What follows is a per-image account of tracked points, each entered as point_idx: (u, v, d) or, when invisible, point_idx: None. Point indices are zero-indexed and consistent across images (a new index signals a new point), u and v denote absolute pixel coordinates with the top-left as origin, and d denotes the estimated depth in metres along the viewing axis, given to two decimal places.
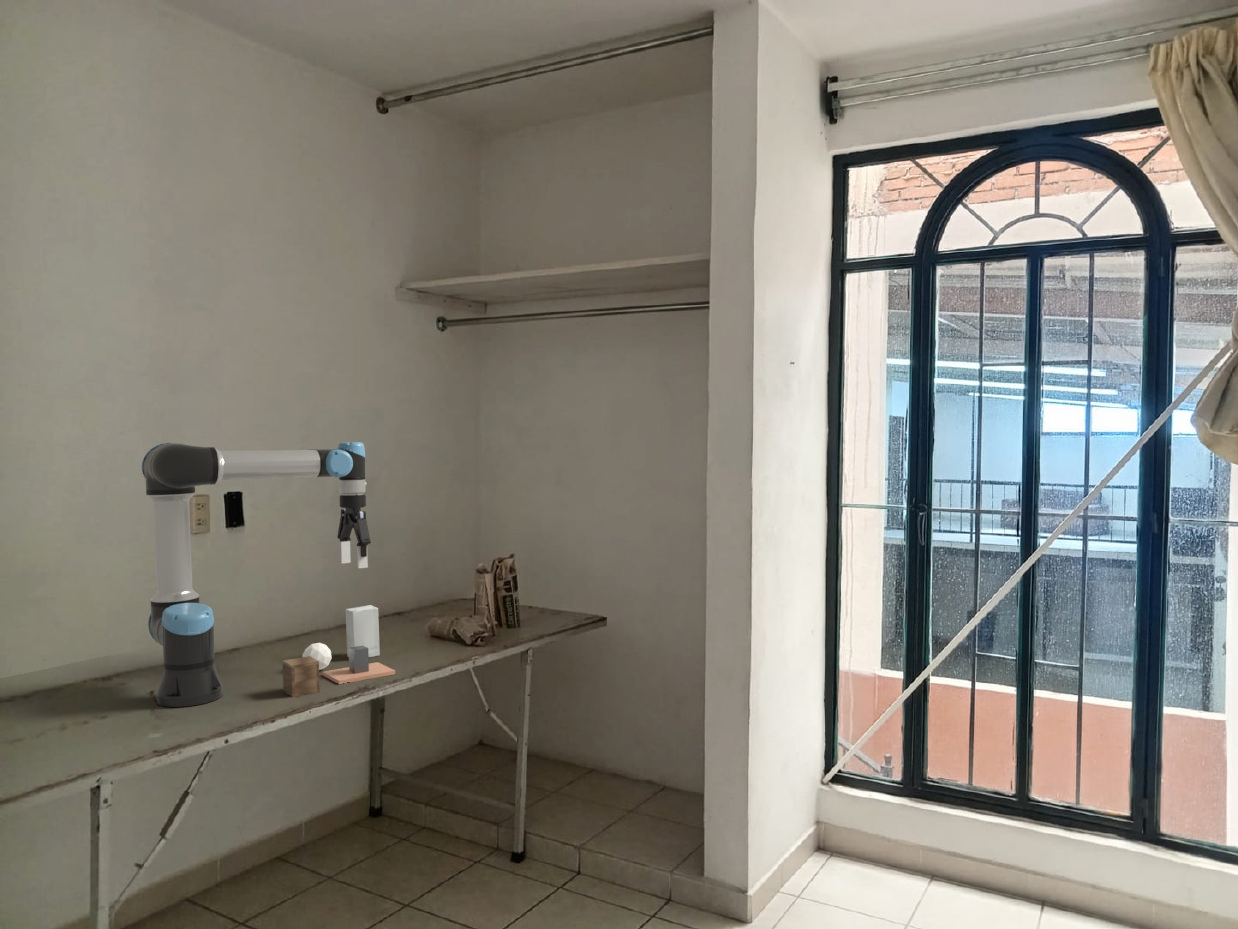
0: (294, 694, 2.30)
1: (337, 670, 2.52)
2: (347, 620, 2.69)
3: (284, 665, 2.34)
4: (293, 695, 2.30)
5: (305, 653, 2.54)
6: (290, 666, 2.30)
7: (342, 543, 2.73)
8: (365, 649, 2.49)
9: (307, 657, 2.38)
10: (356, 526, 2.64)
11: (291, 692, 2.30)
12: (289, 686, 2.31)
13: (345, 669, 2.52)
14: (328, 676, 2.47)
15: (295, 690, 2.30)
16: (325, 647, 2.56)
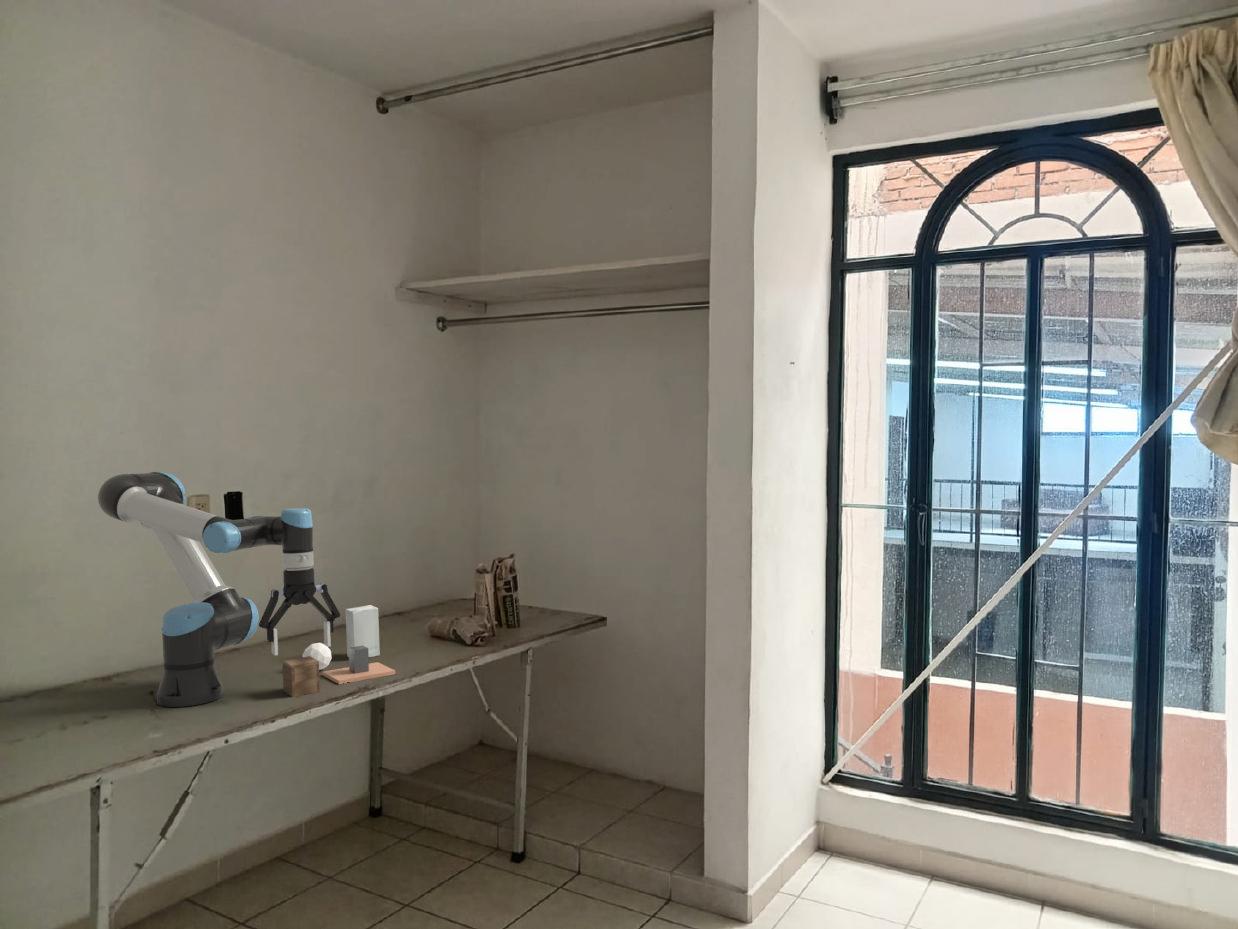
0: (294, 694, 2.30)
1: (337, 670, 2.52)
2: (347, 620, 2.69)
3: (284, 665, 2.34)
4: (293, 695, 2.30)
5: (305, 653, 2.54)
6: (290, 666, 2.30)
7: (323, 622, 2.39)
8: (365, 649, 2.49)
9: (307, 657, 2.38)
10: (281, 605, 2.32)
11: (291, 692, 2.30)
12: (289, 686, 2.31)
13: (345, 669, 2.52)
14: (328, 676, 2.47)
15: (295, 690, 2.30)
16: (325, 647, 2.56)
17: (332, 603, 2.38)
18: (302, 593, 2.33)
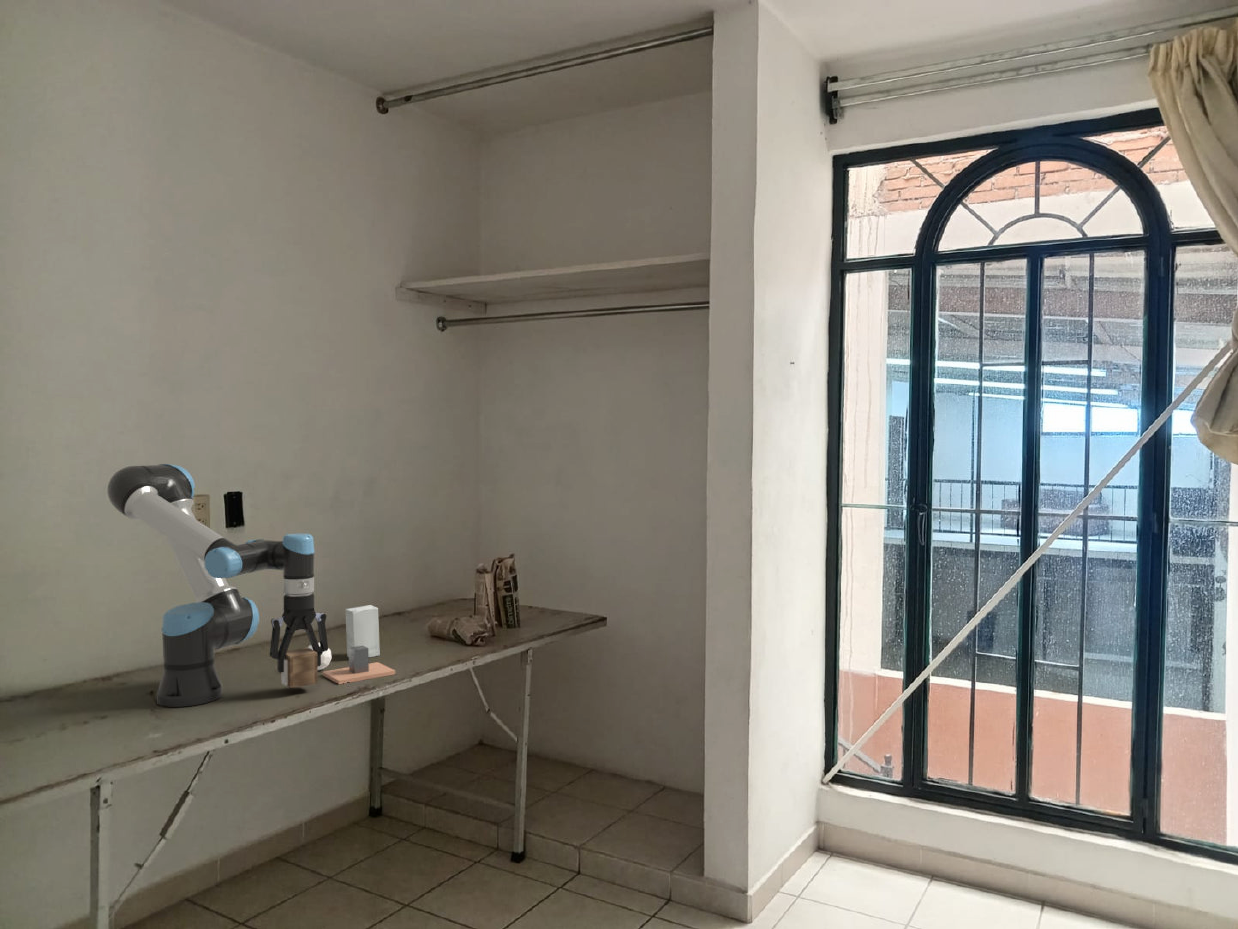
0: (292, 685, 2.30)
1: (337, 670, 2.52)
2: (347, 620, 2.69)
3: None
4: (291, 686, 2.30)
5: None
6: (288, 657, 2.30)
7: None
8: (365, 649, 2.49)
9: (306, 648, 2.38)
10: (285, 633, 2.33)
11: (289, 683, 2.30)
12: None
13: (345, 669, 2.52)
14: (328, 676, 2.47)
15: (294, 681, 2.31)
16: None
17: (325, 635, 2.37)
18: (302, 617, 2.33)
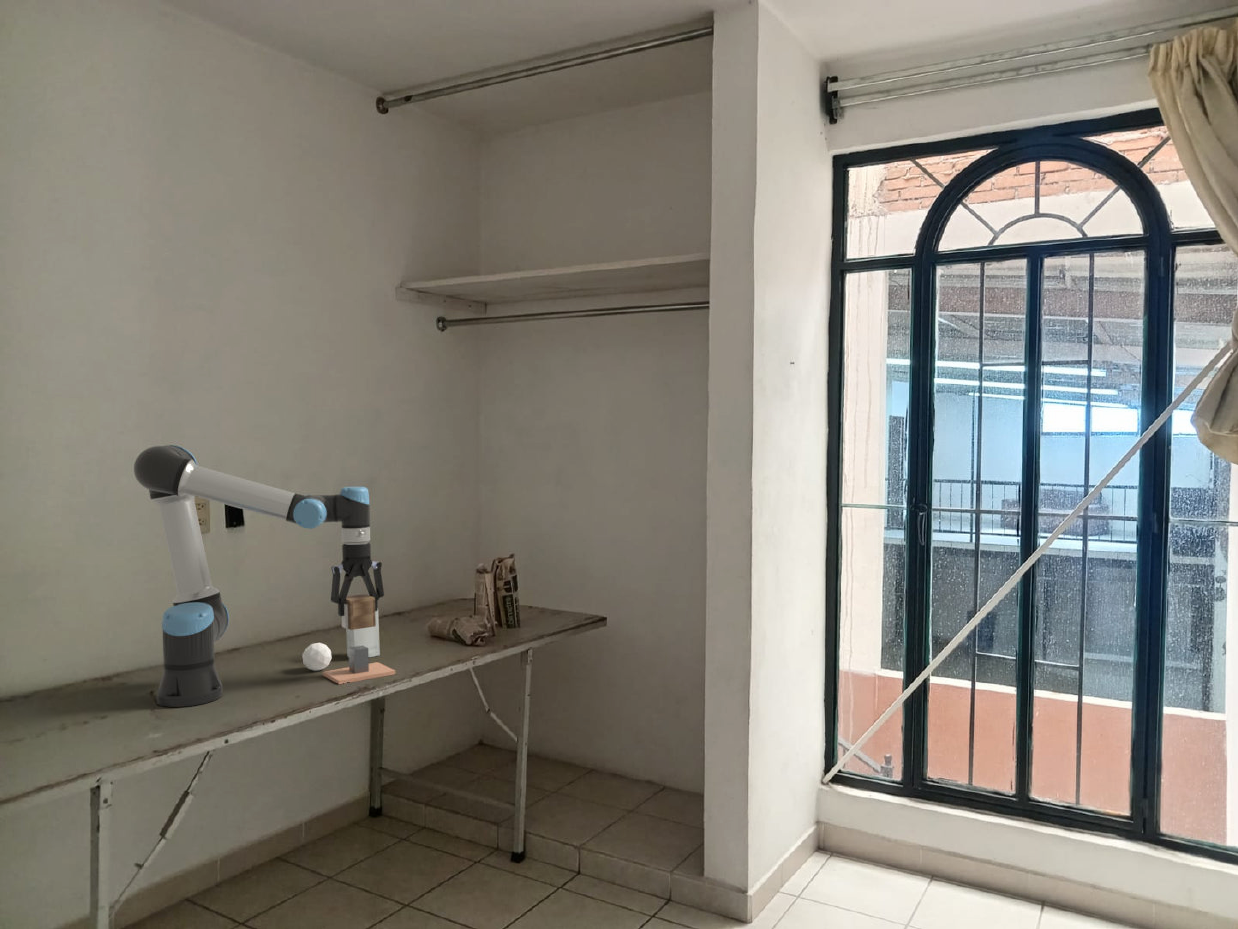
0: (353, 627, 2.46)
1: (337, 670, 2.52)
2: None
3: None
4: (352, 628, 2.45)
5: (305, 653, 2.54)
6: (349, 601, 2.46)
7: None
8: (365, 649, 2.49)
9: (363, 595, 2.53)
10: (344, 580, 2.48)
11: (350, 625, 2.46)
12: (348, 620, 2.47)
13: (345, 669, 2.52)
14: (328, 676, 2.47)
15: (354, 623, 2.46)
16: (325, 647, 2.56)
17: (380, 582, 2.53)
18: (359, 565, 2.49)
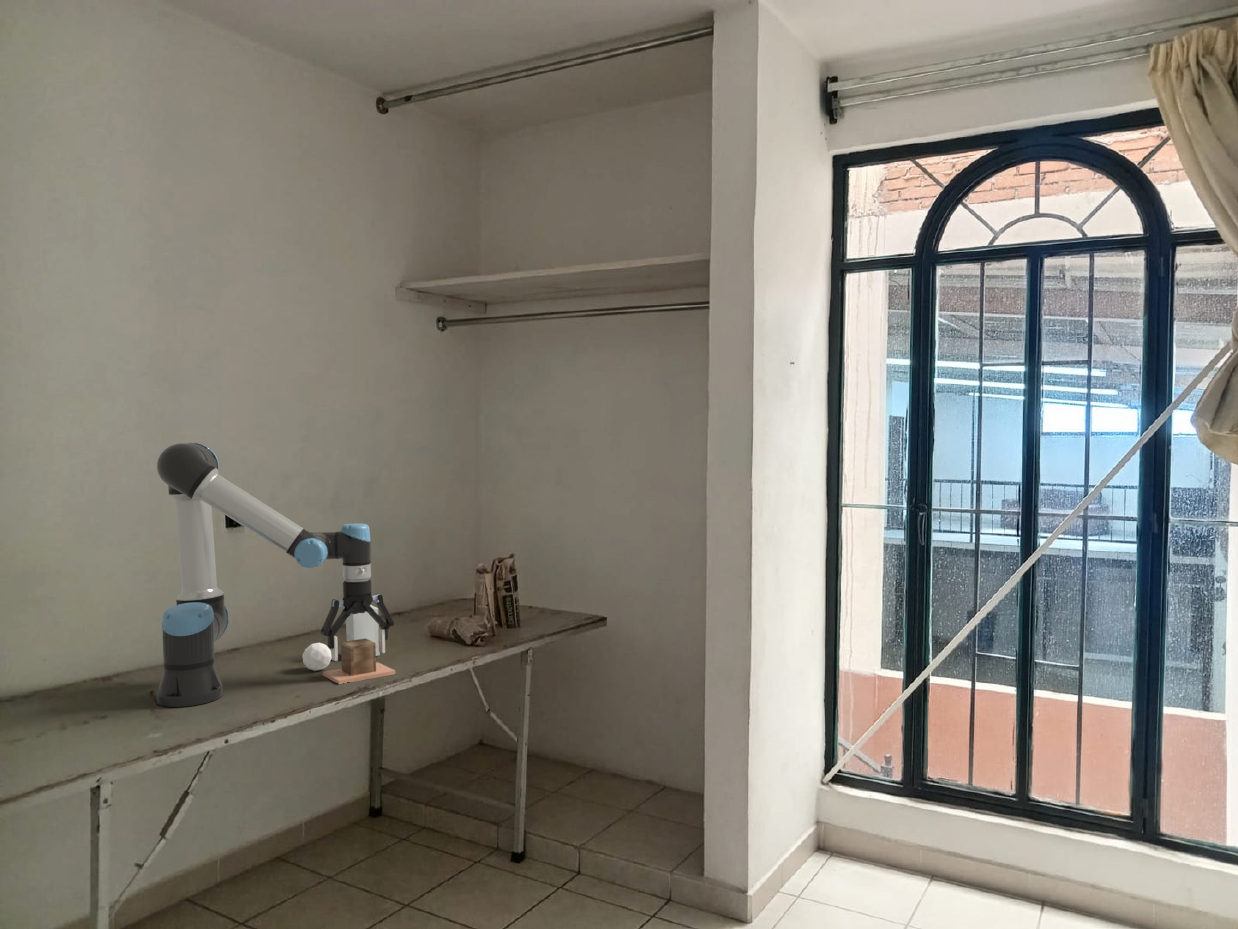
0: (353, 673, 2.46)
1: (337, 670, 2.52)
2: (347, 620, 2.69)
3: (343, 646, 2.50)
4: (352, 674, 2.46)
5: (305, 653, 2.54)
6: (349, 647, 2.46)
7: (378, 630, 2.55)
8: None
9: (363, 639, 2.54)
10: (341, 614, 2.48)
11: (350, 671, 2.46)
12: (348, 666, 2.47)
13: None
14: (328, 676, 2.47)
15: (354, 669, 2.46)
16: (325, 647, 2.56)
17: (387, 612, 2.54)
18: (360, 603, 2.49)
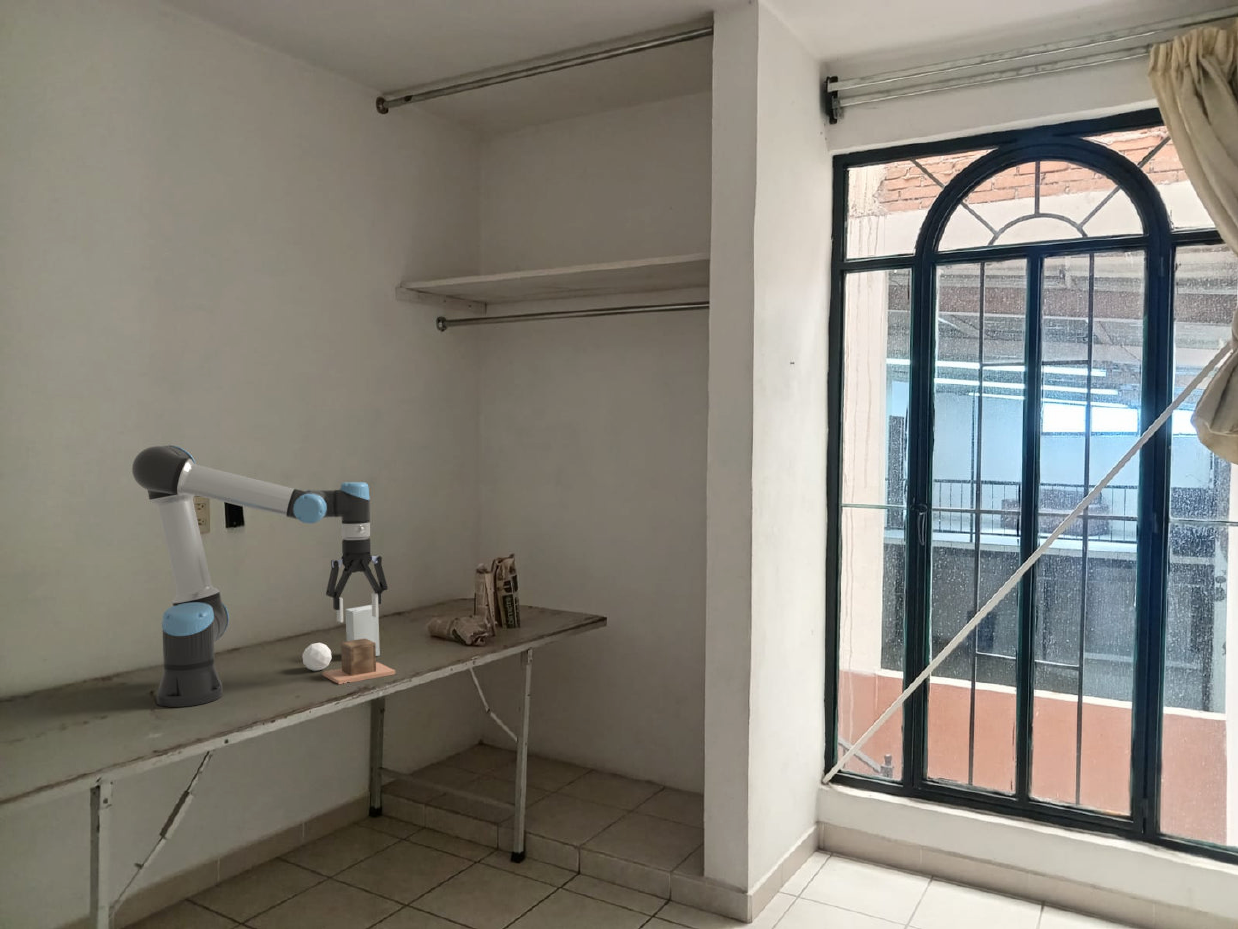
0: (353, 673, 2.46)
1: (337, 670, 2.52)
2: (347, 620, 2.69)
3: (343, 646, 2.50)
4: (352, 674, 2.46)
5: (305, 653, 2.54)
6: (349, 647, 2.46)
7: (372, 594, 2.53)
8: None
9: (363, 639, 2.54)
10: (342, 574, 2.48)
11: (350, 671, 2.46)
12: (348, 666, 2.47)
13: None
14: (328, 676, 2.47)
15: (354, 669, 2.46)
16: (325, 647, 2.56)
17: (383, 575, 2.53)
18: (359, 561, 2.49)
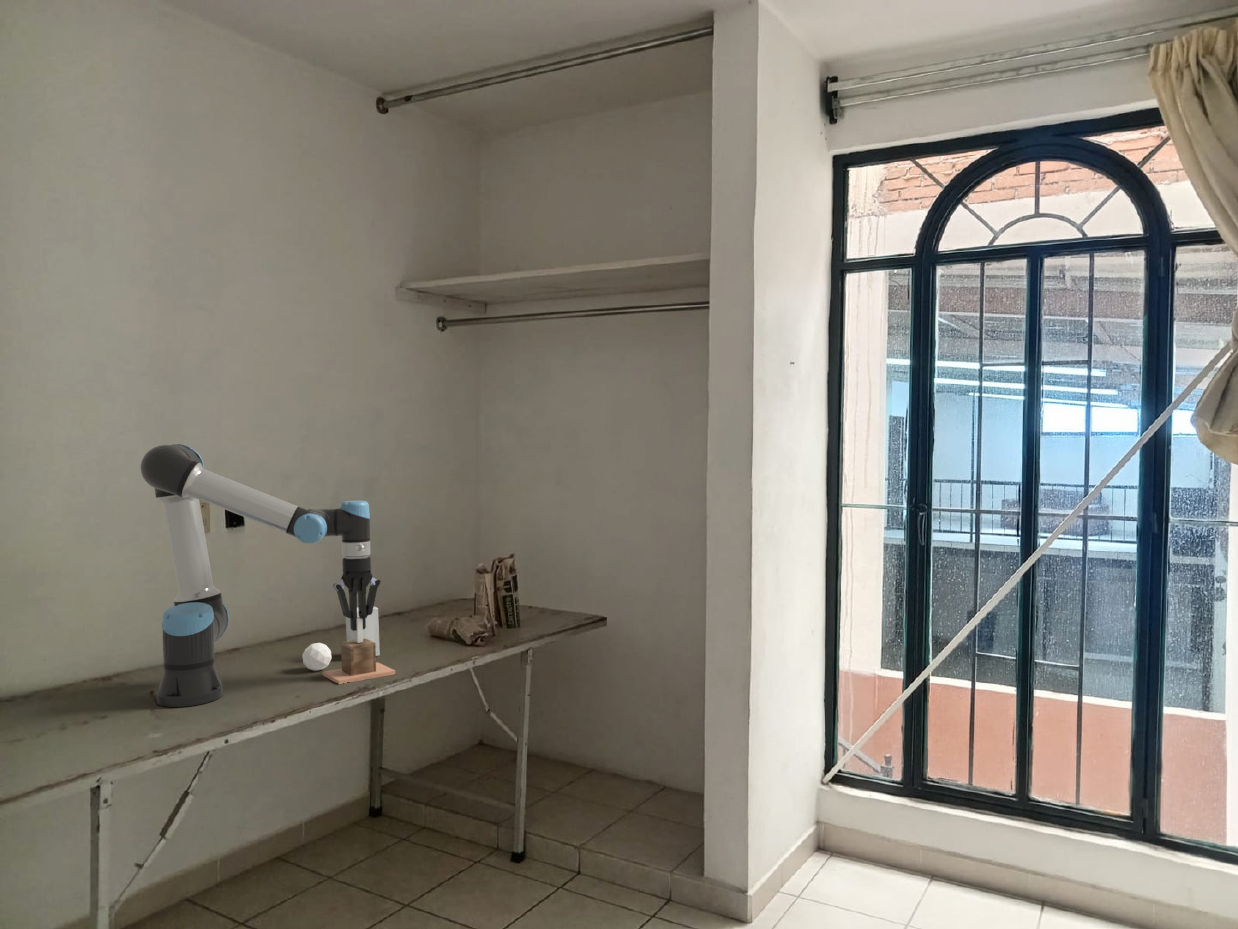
0: (353, 673, 2.46)
1: (337, 670, 2.52)
2: (347, 620, 2.69)
3: (343, 646, 2.50)
4: (352, 674, 2.46)
5: (305, 653, 2.54)
6: (349, 647, 2.46)
7: None
8: None
9: (363, 639, 2.54)
10: (349, 595, 2.49)
11: (350, 671, 2.46)
12: (348, 666, 2.47)
13: None
14: (328, 676, 2.47)
15: (354, 669, 2.46)
16: (325, 647, 2.56)
17: (373, 599, 2.51)
18: (360, 578, 2.49)
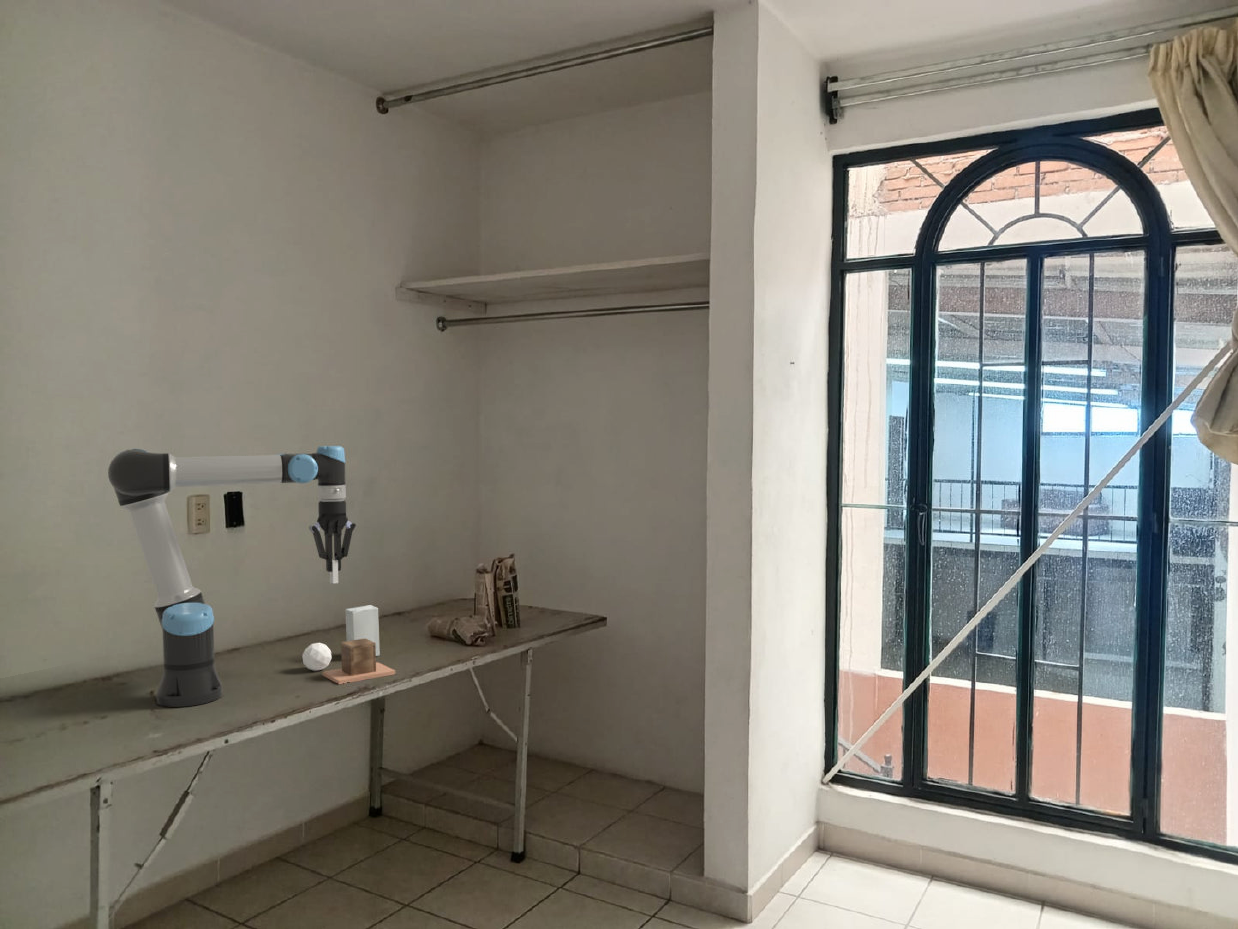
0: (353, 673, 2.46)
1: (337, 670, 2.52)
2: (347, 620, 2.69)
3: (343, 646, 2.50)
4: (352, 674, 2.46)
5: (305, 653, 2.54)
6: (349, 647, 2.46)
7: None
8: None
9: (363, 639, 2.54)
10: (325, 537, 2.57)
11: (350, 671, 2.46)
12: (348, 666, 2.47)
13: None
14: (328, 676, 2.47)
15: (354, 669, 2.46)
16: (325, 647, 2.56)
17: (348, 542, 2.59)
18: (336, 520, 2.57)
